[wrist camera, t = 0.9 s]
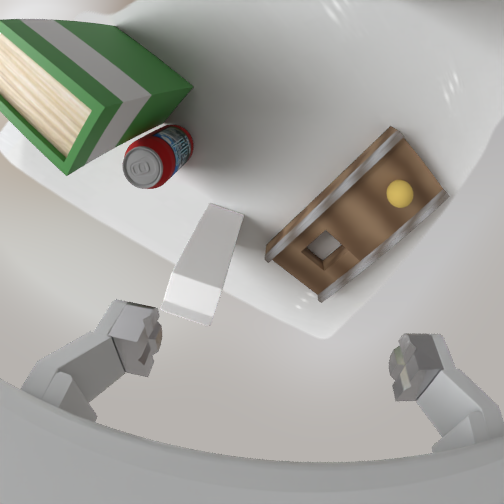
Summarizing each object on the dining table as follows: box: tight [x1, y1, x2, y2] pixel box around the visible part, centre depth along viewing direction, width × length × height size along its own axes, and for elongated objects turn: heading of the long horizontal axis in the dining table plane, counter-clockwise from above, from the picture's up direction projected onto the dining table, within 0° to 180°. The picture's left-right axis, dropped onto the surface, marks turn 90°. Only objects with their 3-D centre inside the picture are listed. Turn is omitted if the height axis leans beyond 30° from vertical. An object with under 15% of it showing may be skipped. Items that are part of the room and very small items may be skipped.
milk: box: [160, 203, 244, 326], centre depth 42 cm, size 6×6×22 cm
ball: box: [387, 180, 413, 208], centre depth 40 cm, size 4×4×4 cm
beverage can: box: [123, 125, 193, 189], centre depth 39 cm, size 7×7×12 cm
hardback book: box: [0, 19, 193, 176], centre depth 28 cm, size 18×7×24 cm, turn 46°
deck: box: [265, 126, 450, 303], centre depth 46 cm, size 28×13×4 cm, turn 140°
